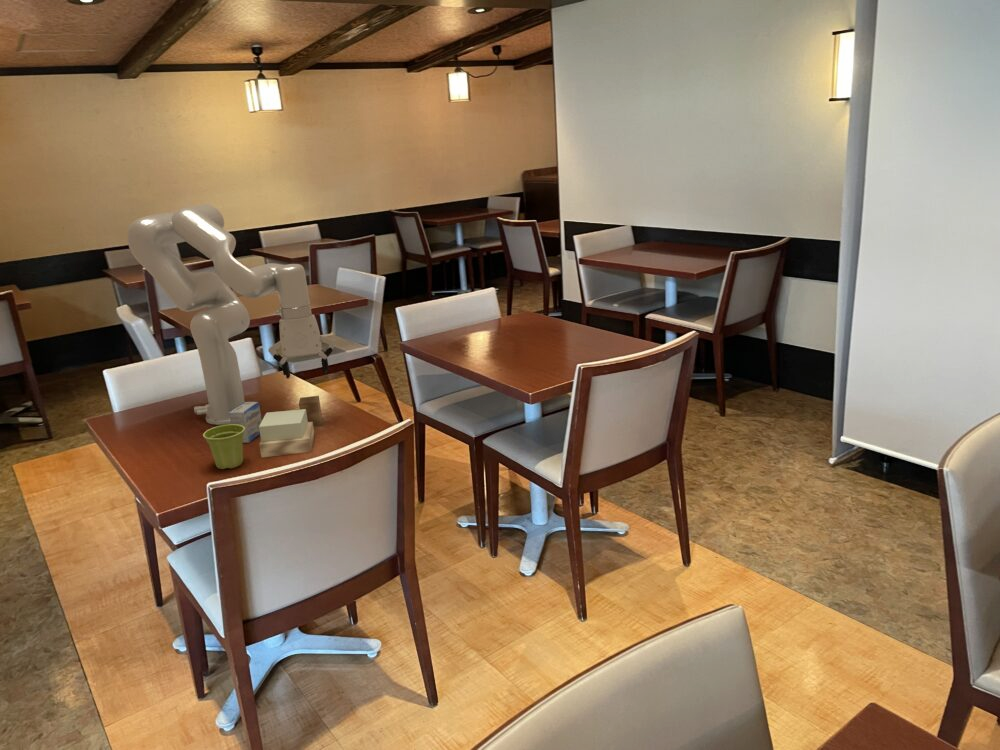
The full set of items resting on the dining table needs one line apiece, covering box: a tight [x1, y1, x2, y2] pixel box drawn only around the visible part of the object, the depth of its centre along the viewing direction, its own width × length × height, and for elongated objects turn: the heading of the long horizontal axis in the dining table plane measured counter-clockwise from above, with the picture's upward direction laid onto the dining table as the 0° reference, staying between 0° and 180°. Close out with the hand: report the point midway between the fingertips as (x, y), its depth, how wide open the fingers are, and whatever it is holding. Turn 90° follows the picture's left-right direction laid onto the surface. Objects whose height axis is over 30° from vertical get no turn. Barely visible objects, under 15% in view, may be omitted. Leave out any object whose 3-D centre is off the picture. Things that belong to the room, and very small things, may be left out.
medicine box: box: [229, 401, 263, 444], centre depth 196 cm, size 8×4×9 cm, turn 168°
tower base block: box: [258, 422, 315, 459], centre depth 190 cm, size 12×12×4 cm
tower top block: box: [259, 409, 308, 442], centre depth 189 cm, size 10×10×4 cm
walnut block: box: [298, 395, 323, 427], centre depth 203 cm, size 5×5×7 cm
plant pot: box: [202, 424, 245, 470], centre depth 180 cm, size 9×9×9 cm
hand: (306, 374), depth 200 cm, fingers open, 9 cm apart
